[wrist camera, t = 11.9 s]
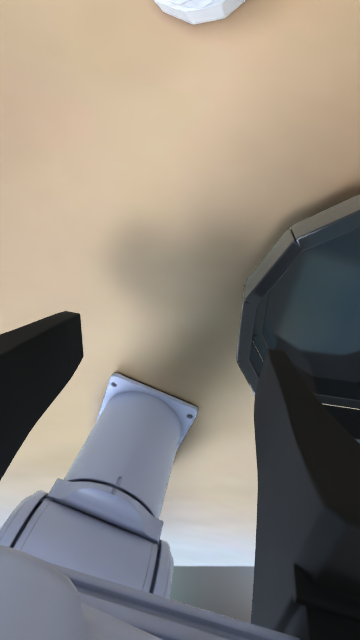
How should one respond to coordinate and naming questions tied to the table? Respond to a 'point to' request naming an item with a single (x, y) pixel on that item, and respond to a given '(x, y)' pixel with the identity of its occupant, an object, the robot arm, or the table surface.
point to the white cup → (199, 9)
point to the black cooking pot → (310, 309)
